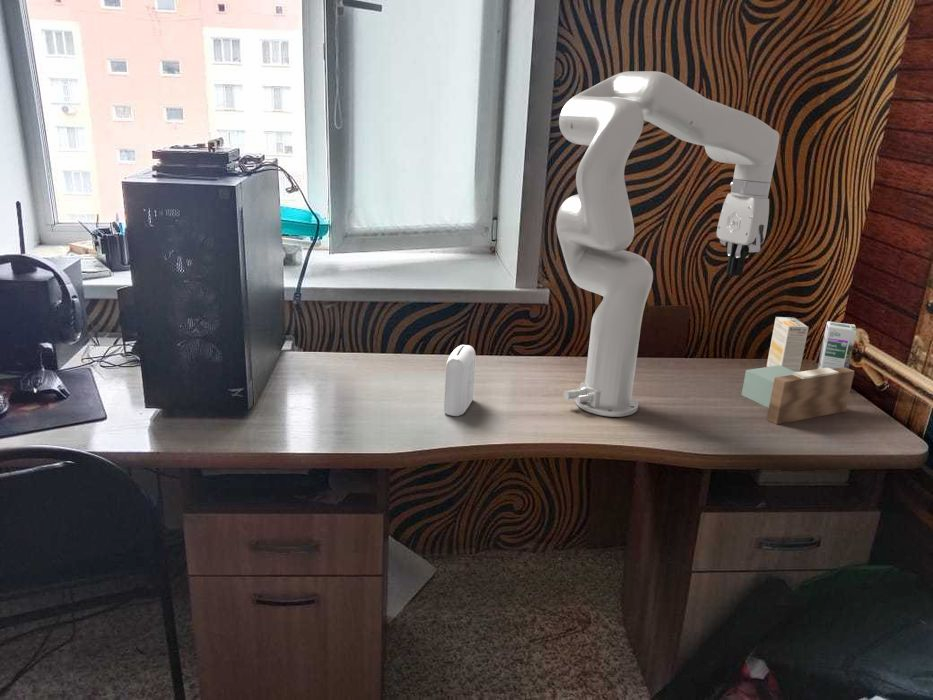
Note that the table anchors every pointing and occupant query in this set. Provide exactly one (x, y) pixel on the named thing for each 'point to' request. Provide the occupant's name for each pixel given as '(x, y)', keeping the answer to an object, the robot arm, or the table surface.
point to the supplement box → (787, 343)
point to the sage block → (762, 383)
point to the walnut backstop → (809, 394)
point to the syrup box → (837, 345)
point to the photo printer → (459, 380)
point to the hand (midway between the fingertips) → (733, 274)
